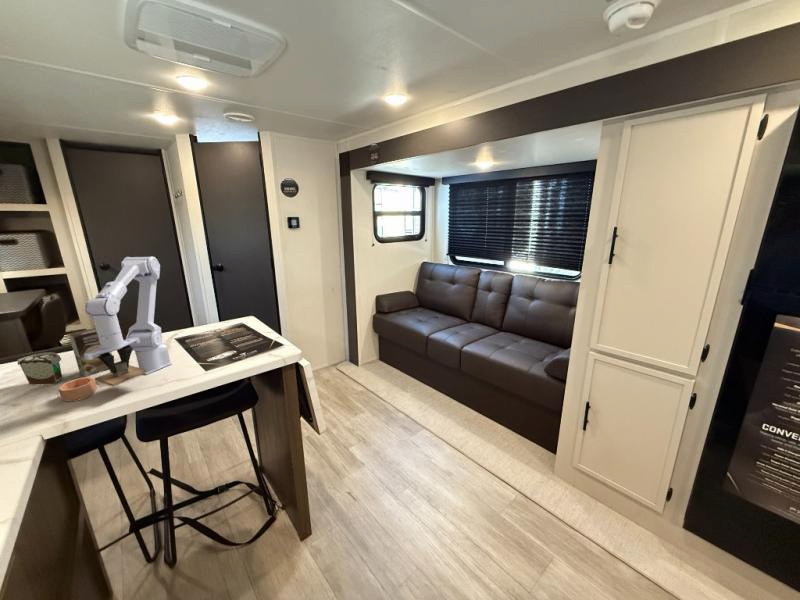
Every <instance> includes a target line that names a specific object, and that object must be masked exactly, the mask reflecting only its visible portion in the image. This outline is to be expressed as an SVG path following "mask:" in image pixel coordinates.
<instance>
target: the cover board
mask: <svg viewBox="0 0 800 600" xmlns="http://www.w3.org/2000/svg"><path fill="white" fill-rule="evenodd" d="M114 364H115V367H116V371H117V373H111V372H107V373H105V374H102V375H99V376H97V377H95V378H94V379H95V382H99V383H102V384H105V385H107V386H111V387H115V386H118V385H120V384H122V383H124V382H127V381H129V380H131V379H134V378H136V377H138V376H140V375H144V374H143V373H146V372H147V371H146V370H144V369H141V368H139V367H137V366H133V365H131V364H129V368H127V364H126V362H123V361H121V360H120V361H117V362H114Z"/></svg>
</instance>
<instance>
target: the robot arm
mask: <svg viewBox="0 0 800 600" xmlns="http://www.w3.org/2000/svg"><path fill="white" fill-rule="evenodd" d="M120 263H121V269H120V271H119V273H118V274H117V276H116V277H115V279H114V281H109V282H107V283H106V284H105V285H104V286H103V288H102V289H101V290H100V292H98V294H97V295H96V296H95V297H93V298H90V299H89V300H87V301H86V302H85V305H84V312H85V314H86V315H87V316H88V317H89V318H90V321H92V322H93V324H94V328H96V331H97V334H98V338H99V341H100V344H101V347H99V348H97V349H95V350H93V351H90V352H88V353H85V354H84V355H85V358H86V359H87V360H92V359H93V358H95V357H97V358H99V359H100V360H101V361H102V362H103V363H104V364H105V365H106V366H107V367H108V368H109V369H108V370H109V371H110V372H111V373H117V371H116V367H115V364H114V363H115V355H113V354H112V355H111V354H109V353H110V352H115V351H116V352H117V354H118V357H119V358H120V361H123V362H126V364H127V368H129V365H130V359H131V356H132V352H133V351H134V353H135V358H136V361H137V365H138V368H141V369H144V370H146V371H147V372H146V373H143V374H142V375H149V374H151V373H155V372H156V371H159V370H161V369H163V368H166V367H168V366H170V365H172V361H171V357H170V353H169V350H168V348H167V345H166V344H165V343H163V335H162V327H161V326H159V325H157V324H156V323H154V322H155V321H154V320H155V309H156V296H157V295H156V294H157V285H158V284H157V283H158V282H157V281H158V280H160V273H161V264H160V262H159V260H158V259H157V258H156V257H155V256H133V257H131V256H126V257H124V258H123V260H122V261H121V262H120ZM133 280H135V281H138V283H139V286H138V287H139V288H138V297H137V298H138V300H137V312H136V313H137V314H136V322H135V323H134V324H132V325H131V326H130V327H129V328H128V333H127V335H126V337H125V339H124V337H123V334H122V333H123V332H122V330H121V327H120V322H119V319H118V316H117V314H118V313H119V311H120V305H121V300H122V299H123V297H124V296H125V295H126V293H127V292H128V289H127V286H128V285H129V284H130V282H132V281H133Z"/></svg>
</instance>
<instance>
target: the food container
mask: <svg viewBox="0 0 800 600" xmlns="http://www.w3.org/2000/svg"><path fill="white" fill-rule="evenodd" d="M61 360H62V358H61V356H60V355H59V354H58V353H57V352H42V353H37V354H36V353H35V354H32V355H29V356H24V357H22V358H19V359H17V362H16V363H17V365H18V366H20V369H21V370H22V373H23V374H24V377H25V378H26V380H27V382H28V384H29V386H39V384H40V386H42V385H41V384H44V385H45V386H47V385H46V384H57V385H58V383H59V384H60V383H62V381H63V380H62V379H63V374H62V369H61V363H60V361H61ZM37 384H38V385H37ZM44 385H43V386H44Z"/></svg>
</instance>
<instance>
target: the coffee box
mask: <svg viewBox="0 0 800 600" xmlns="http://www.w3.org/2000/svg"><path fill="white" fill-rule="evenodd" d="M68 337H69V340H70V345H71V347H72V350H73V354H74V357H75V358H74V359H75V361H76V365H77V368H78V371H79V373H80V374H81V375H83V376H84V377H90V376H91V375H95V374H98V373H101V372H105V371H107V370H109V368H108V367H107V366H106V365H105V364H104V363H103V362H102V361H101V360H100V359H99V358H97V357H95V358H93V359H92V360H87V359H86V358H85V355H84V354H85V353H88V352H90V351H93V350H95V349H97V348H99V347H101V344H100V341H99V338H98V334H97V331H96V327H94V328H93V327H92V328H88V329H84V330H80V331H76V332H75V331H74V332H70V333H68ZM109 354H111V355H113V353H112V352H110V353H109Z"/></svg>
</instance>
